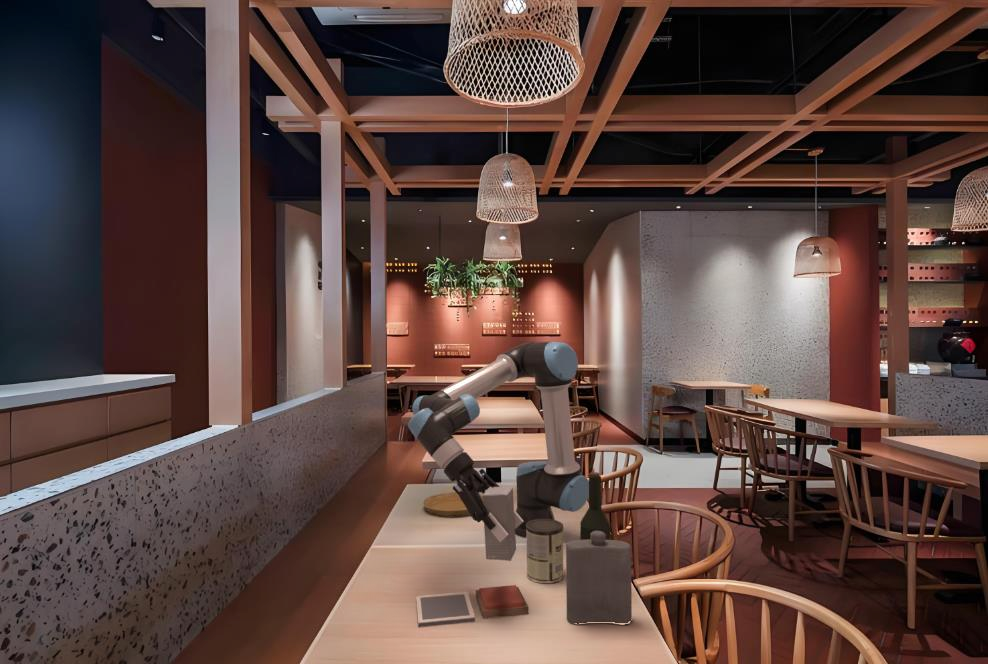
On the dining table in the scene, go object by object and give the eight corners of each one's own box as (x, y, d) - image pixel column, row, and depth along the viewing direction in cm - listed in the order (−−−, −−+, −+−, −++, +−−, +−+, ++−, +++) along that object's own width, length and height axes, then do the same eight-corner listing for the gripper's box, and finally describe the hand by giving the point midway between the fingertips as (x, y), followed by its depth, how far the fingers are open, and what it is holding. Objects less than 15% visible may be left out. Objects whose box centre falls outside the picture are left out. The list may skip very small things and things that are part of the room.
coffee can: (531, 566, 157) (531, 516, 158) (567, 570, 154) (566, 520, 154) (521, 581, 148) (521, 528, 148) (559, 586, 144) (558, 532, 145)
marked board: (467, 595, 140) (467, 591, 140) (474, 621, 127) (474, 617, 127) (416, 600, 137) (416, 596, 137) (418, 627, 124) (418, 622, 124)
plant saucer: (412, 516, 204) (412, 507, 204) (437, 498, 227) (437, 489, 227) (474, 521, 197) (473, 512, 197) (493, 502, 220) (493, 494, 220)
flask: (628, 613, 130) (627, 528, 130) (633, 626, 124) (633, 537, 124) (565, 612, 131) (564, 528, 131) (567, 625, 125) (566, 537, 125)
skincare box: (511, 562, 130) (510, 495, 130) (482, 560, 131) (481, 494, 131) (517, 548, 138) (516, 485, 138) (489, 546, 140) (488, 484, 140)
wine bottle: (605, 598, 137) (604, 478, 138) (574, 590, 142) (573, 474, 142) (616, 586, 144) (615, 472, 145) (587, 578, 149) (586, 468, 149)
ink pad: (518, 592, 141) (518, 583, 141) (528, 613, 130) (528, 603, 130) (475, 596, 139) (475, 587, 139) (482, 618, 128) (482, 608, 128)
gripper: (464, 460, 151) (519, 526, 144) (422, 480, 131) (483, 557, 125) (481, 443, 149) (537, 508, 142) (441, 460, 129) (504, 537, 122)
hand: (512, 531), depth 133 cm, fingers closed on skincare box, 9 cm apart
